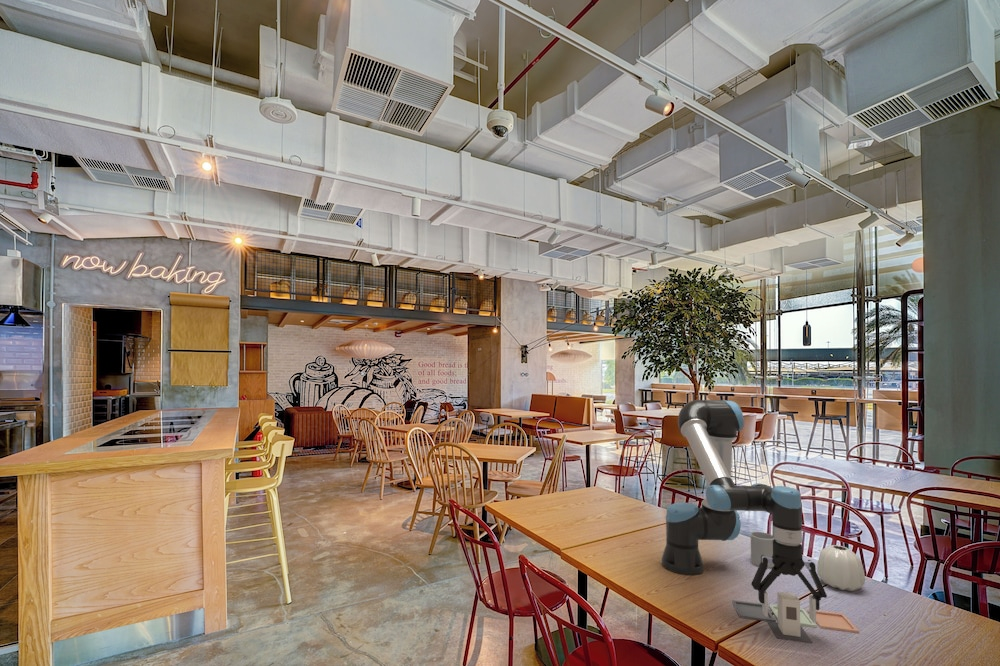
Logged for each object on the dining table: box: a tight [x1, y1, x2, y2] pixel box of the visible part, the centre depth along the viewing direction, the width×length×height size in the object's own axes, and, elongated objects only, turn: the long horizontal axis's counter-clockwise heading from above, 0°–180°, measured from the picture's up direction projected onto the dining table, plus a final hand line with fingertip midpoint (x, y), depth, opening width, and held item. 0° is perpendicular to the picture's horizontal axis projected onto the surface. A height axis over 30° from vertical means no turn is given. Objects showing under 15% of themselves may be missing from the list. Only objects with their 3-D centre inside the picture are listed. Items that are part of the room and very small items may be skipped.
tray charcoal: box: [731, 599, 777, 622], centre depth 150 cm, size 10×10×1 cm
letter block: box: [776, 591, 801, 637], centre depth 139 cm, size 4×5×10 cm
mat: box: [766, 621, 813, 644], centre depth 139 cm, size 9×9×1 cm
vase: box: [816, 544, 866, 592], centre depth 171 cm, size 14×14×13 cm
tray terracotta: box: [806, 609, 860, 634], centre depth 145 cm, size 10×10×1 cm
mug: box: [750, 531, 774, 569], centre depth 190 cm, size 12×8×11 cm
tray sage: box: [768, 604, 818, 629], centre depth 148 cm, size 10×10×1 cm
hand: (788, 617), depth 139 cm, fingers open, 12 cm apart
